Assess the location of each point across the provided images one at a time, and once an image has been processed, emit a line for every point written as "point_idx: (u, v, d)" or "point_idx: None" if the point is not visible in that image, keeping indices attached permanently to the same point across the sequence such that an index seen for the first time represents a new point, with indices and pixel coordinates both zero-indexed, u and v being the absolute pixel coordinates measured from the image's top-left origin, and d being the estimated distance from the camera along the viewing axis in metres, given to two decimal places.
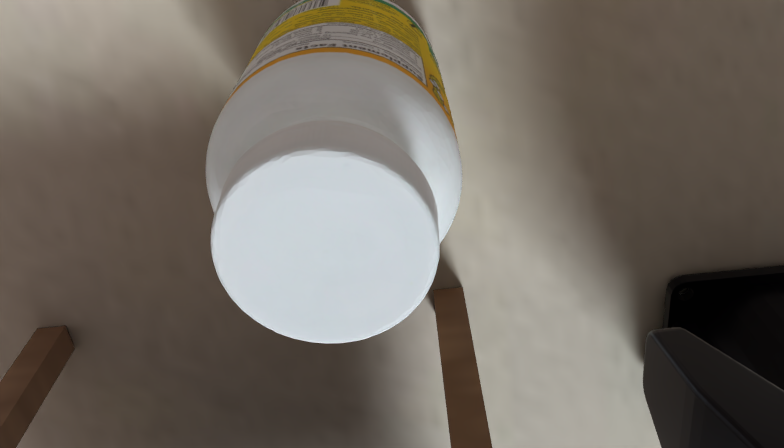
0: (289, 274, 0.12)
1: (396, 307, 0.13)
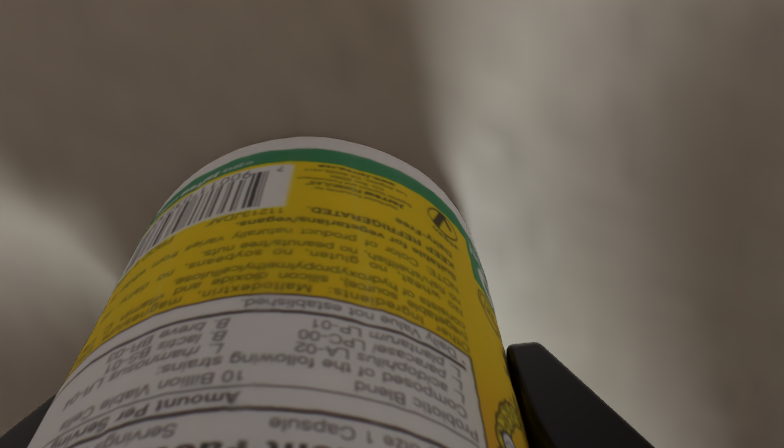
0: None
1: None
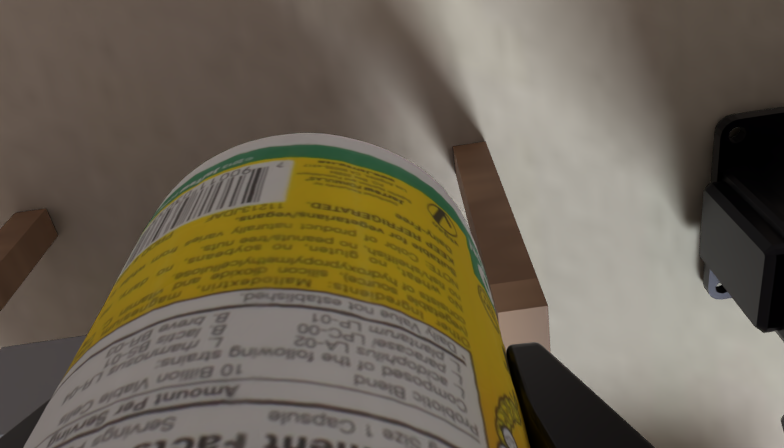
0: None
1: None
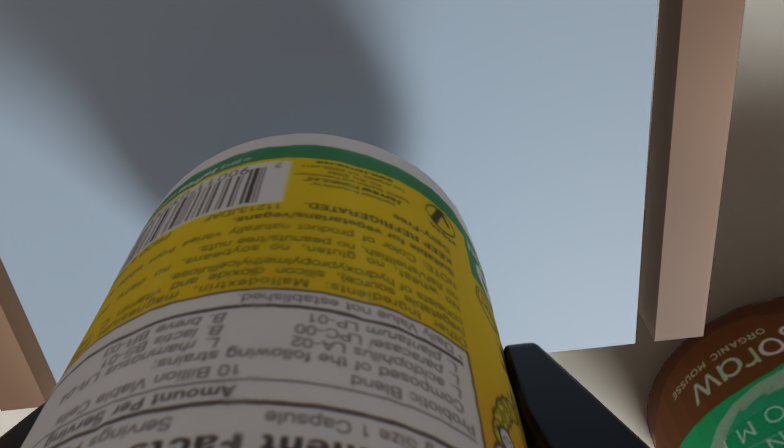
0: None
1: None
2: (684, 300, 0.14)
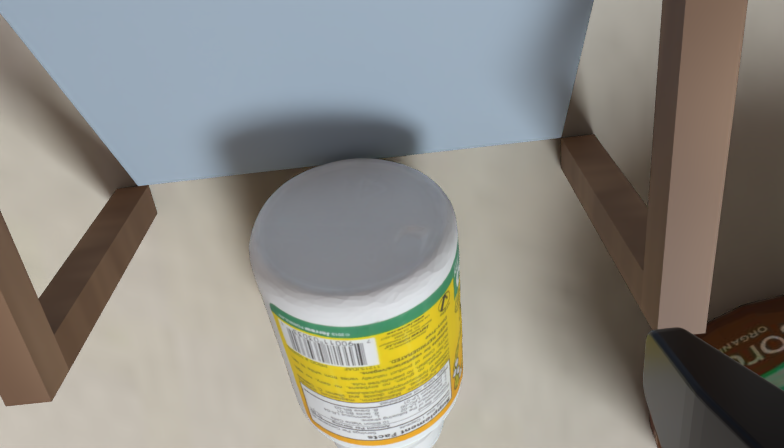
0: None
1: None
2: (685, 297, 0.14)
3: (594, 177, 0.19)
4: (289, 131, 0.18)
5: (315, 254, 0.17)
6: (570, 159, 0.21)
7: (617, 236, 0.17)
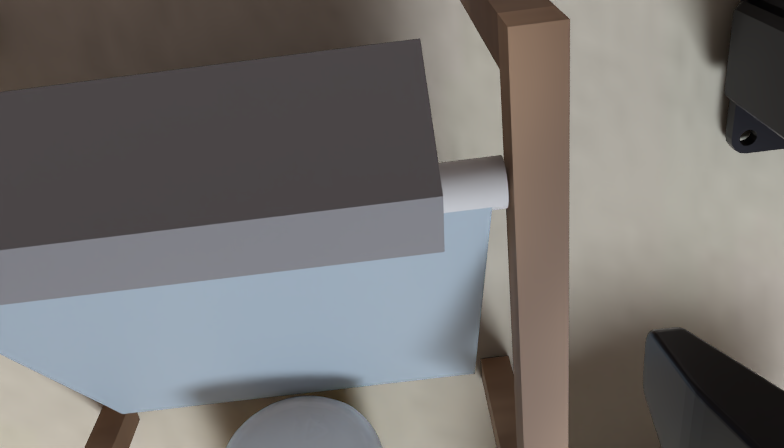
0: None
1: None
2: None
3: (500, 416, 0.23)
4: (246, 385, 0.22)
5: None
6: (486, 385, 0.25)
7: None
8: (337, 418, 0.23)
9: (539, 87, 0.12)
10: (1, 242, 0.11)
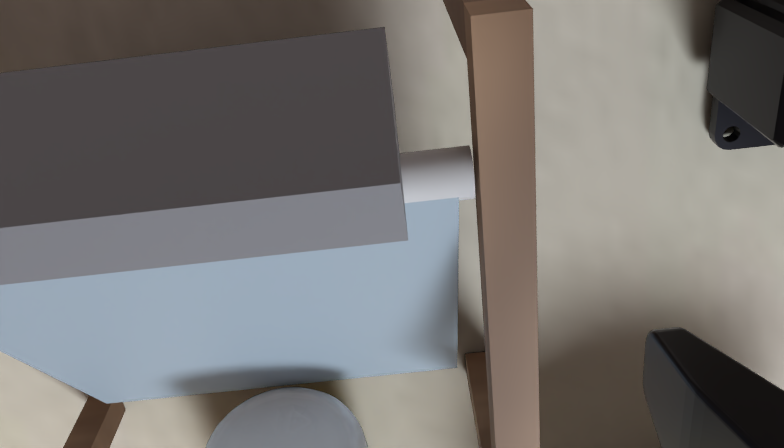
0: None
1: None
2: None
3: (481, 410, 0.23)
4: (228, 376, 0.22)
5: None
6: (469, 380, 0.25)
7: None
8: (320, 409, 0.23)
9: (503, 78, 0.12)
10: None
